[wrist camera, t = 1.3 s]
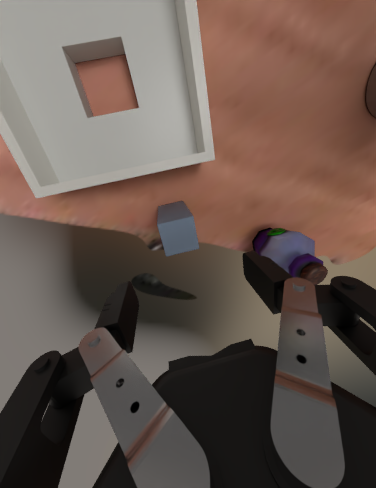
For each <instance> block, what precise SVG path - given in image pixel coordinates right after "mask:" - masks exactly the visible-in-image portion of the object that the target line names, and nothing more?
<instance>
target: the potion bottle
mask: <svg viewBox="0 0 376 488" xmlns="http://www.w3.org/2000/svg"><path fill="white" fill-rule="evenodd" d="M252 243H253V249H254V251H255V252H256V253H258V254H259V255H260V256H266V257H268V258H270V259H272V260H273V261H274V262H275V263H277V264H278V265H279V266H280V267H282V268H283V269H284V270H285V271H286V272H288V273H289V274H290V275H291V276H293V277H294V278H295V277H297V278H303V279H306V280H308V281H310V282H311V283H313V285H317V284H319V283H320V282H322V281H323V280H324V278H325V277H326V275H327V271H328V270H327V269H326V267H324V266H323V261H321V260H320V259H318V258H316V257H314V240H312V239H310V238H309V237H307V236H305V235H303V234H302V233H300V232H294V231H288V230H285V229H283V228H276V229H272V228H267V229H265V230H262V231H259V232H258V234H257V235H256V237H255V238H254V240H253V241H252Z"/></svg>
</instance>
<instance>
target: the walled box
mask: <svg viewBox="0 0 376 488" xmlns="http://www.w3.org/2000/svg"><path fill="white" fill-rule="evenodd" d="M123 54H126V58H127V61H128V65H129V69H130V73H131V77H132V81H133V85H134V89H135V93H136V97H137V101H138V105H139V108H136V109H131V110H126V111H121V112H116V113H111V114H106V115H101V116H95V117H94V116H93V114H92V111H91V108H90V105H89V102H88V99H87V96H86V93H85V91H84V88H83V85H82V82H81V79H80V76H79V73H78V70H77V68H76V65H75V63H78V62H84V61H89V60H95V59H101V58H106V57H112V56H117V55H123ZM0 134H1V135H2V137H3V139H4V141H5V143H6V145H7V146H8V148H9V150H10V152H11V154H12V155H13V157H14V159H15V161H16V163H17V164H18V166H19V168H20V170H21V172H22V174H23V175H24V177H25V179H26V181H27V183H28V184H29V186H30V188H31V190H32V192H33V193H34V195H35V197H36V198H40V197H45V196H49V195H54V194H59V193H63V192H68V191H72V190H77V189H82V188H86V187H91V186H95V185H100V184H105V183H109V182H114V181H119V180H123V179H128V178H132V177H137V176H142V175H146V174H151V173H155V172H160V171H165V170H169V169H174V168H179V167H183V166H188V165H192V164H197V163H202V162H206V161H211V160H215V155H214V146H213V138H212V129H211V121H210V112H209V104H208V95H207V87H206V78H205V70H204V61H203V53H202V44H201V36H200V28H199V19H198V11H197V2H196V0H0Z"/></svg>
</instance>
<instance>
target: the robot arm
mask: <svg viewBox="0 0 376 488" xmlns="http://www.w3.org/2000/svg"><path fill="white" fill-rule="evenodd" d="M366 102H367V106H368V109H369V111H370V113H371V114H372V115H373V116H374V117H376V65H375V67H374V68H373V70H372V73H371V75H370V78H369V81H368V85H367V92H366ZM243 268H244V275H245V278H246V280H247V281H248V282H249V283H250V285H251V286H252V287H253V289H254V290H255V291H256V293H257V294H258V295H259V296H260V298H261V299H262V300H263V302H264V303H265V304H266V305H267V307H268V308H269V309H270V311H271V312H272V313H273V314H277V313H281V320H280V331H279V342H278V351H276V350H274V349H271V348H268V347H264V346H254V344H253V342H252V340H251V339H249V340H245V341H242V342H239V343H235V344H231V345H230V346H228V347H226V348H224V349H223V350H221V351H219V352H218V353H216V354H214V355H212V356H188V357H184V358H180V359H177V360H174V361H170V362H169V370H168V371H166V372H165V373H163V374H162V375H161V376H160V377H159V378H158V379H157V380H156V381H155V382H154V383H153V384H152V385H151V384H150V382H149V381H148V380H147V378H146V377H145V376H144V375H143V373H142V372H141V371H140V369H139V368H138V367H137V366H136V364H135V363H134V362H133V360H132V359H131V358H130V357H129V355H128V354H127V353H130V352H132V350H133V344H134V337H135V330H136V324H137V317H138V310H139V301H138V298H137V295H136V293H135V290H134V288H133V286H132V283H131V282H130V281H128V282H124V283H120V284H118V286H117V289H116V292H115V293H112V294H111V295H110V296H109V297H108V298H107V300H106V302H105V304H104V307H103V309H102V312H101V314H100V317H99V319H98V322H97V324H96V327H95V329H94V330H92V331H91V332H89V333H88V334H87V335H85V336H84V338H83V339H82V340H81V342H80V344H79V347H77V348H75V349H73V350H72V351H70V352H68V353H66V354H64V355H61V354H60V353H59V352H58V351H50V352H47V353H45V354H44V355H42V356H40V357H39V358H38V359H36V360H35V361H34V362H33V363H32V364H31V365H30V367H29V368H28V369H27V370H26V372H25V374H24V375H23V377H22V379H21V381H20V382H19V384H18V385H17V387H16V389H15V390H14V392H13V393H12V395H11V397H10V398H9V400H8V402H7V403H6V405H5V407H4V408H3V410H2V411H1V413H0V488H58V485H59V482H60V478H61V474H62V471H63V467H64V464H65V461H66V457H67V453H68V450H69V446H70V443H71V439H72V436H73V432H74V429H75V425H76V422H77V418H78V415H79V411H80V408H81V404H82V401H83V397H84V394H85V393H87V392H88V391H90V390H92V389H93V388H94V389H95V391H96V393H97V395H98V398H99V400H100V402H101V404H102V406H103V409H104V411H105V413H106V415H107V417H108V420H109V422H110V424H111V426H112V428H113V431H114V433H115V435H116V437H117V439H118V444H117V446H116V447H115V449H114V451H113V453H112V454H111V456H110V458H109V460H108V462H107V463H106V465H105V467H104V468H103V470H102V472H101V474H100V475H99V477H98V479H97V480H96V482H95V484H94V486H93V487H92V488H376V407H374V406H372V405H371V404H369V403H367V402H365V401H364V400H362V399H360V398H358V397H356V396H355V395H353V394H352V393H350V392H348V391H346V390H345V389H343V388H341V387H340V386H338V385H336V384H334V383H333V382H331V381H330V374H329V367H328V360H327V353H326V345H325V338H324V331H323V326H328V327H329V328H330V329H331V330H332V331H333V332H334V333H335V334H336V335H337V336H338V337H339V338H340V339H341V340H342V341H343V342H344V343H345V344H346V346H347V347H348V348H349V349H350V350H351V351H352V352H353V353H354V354H355V355H356V356H357V357H358V358H359V359H360V360H361V361H362V362H363V363H364V364H365V365H366V366H367V367H368V368H369V369H370V370H371V371H372V372H373V373H374V374H375V375H376V332H374V331H373V330H372V329H371V328H369V327H368V326H367V325H366V324H365V323H363V322H362V321H361V320H360V319H359V318H360V317H361V318H363V319H364V320H365V321H366V322H368V323H369V324H370V325H371V326H373V328H374V329H375V330H376V290H375V289H374V288H372V287H370V286H368V285H367V284H365V283H363V282H362V281H360V280H358V279H356V278H352V277H348V276H337V277H334V278H332V279H331V283H330V285H313V283H311V282H310V281H308V280H306V279H303V278H297V277H295V278H294V277H293V276H291V275H290V274H289V273H288V272H286V271H285V270H284V269H283V268H282V267H280V266H279V265H278V264H277V263H275V262H274V261H273V260H272V259H270V258H268V257H266V256H260V255H259V254H258V253H256V252H255V251H250V252H246V253H243ZM48 403H49V406H48ZM47 406H48V408H47ZM46 408H47V410H46ZM45 410H46V413H45V415H44V412H45ZM43 415H44V417H43ZM42 418H43V419H42ZM41 421H42V422H41Z"/></svg>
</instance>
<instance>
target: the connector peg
mask: <svg viewBox="0 0 376 488" xmlns="http://www.w3.org/2000/svg"><path fill="white" fill-rule="evenodd" d="M157 226H158V229H159V233H160V236H161V240H162V243H163V247H164V250H165V254H166V256H170V255H175V254H179V253H183V252H187V251H191V250H195V249H199V245H198V239H197V234H196V228H195V223H194V218H193V215H192V214H191V212H190V211H189V209H188V208H187V206H186V205H185V203H184V202H183V201H179V202H175V203H170V204H166V205H161V206H158V219H157Z"/></svg>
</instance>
